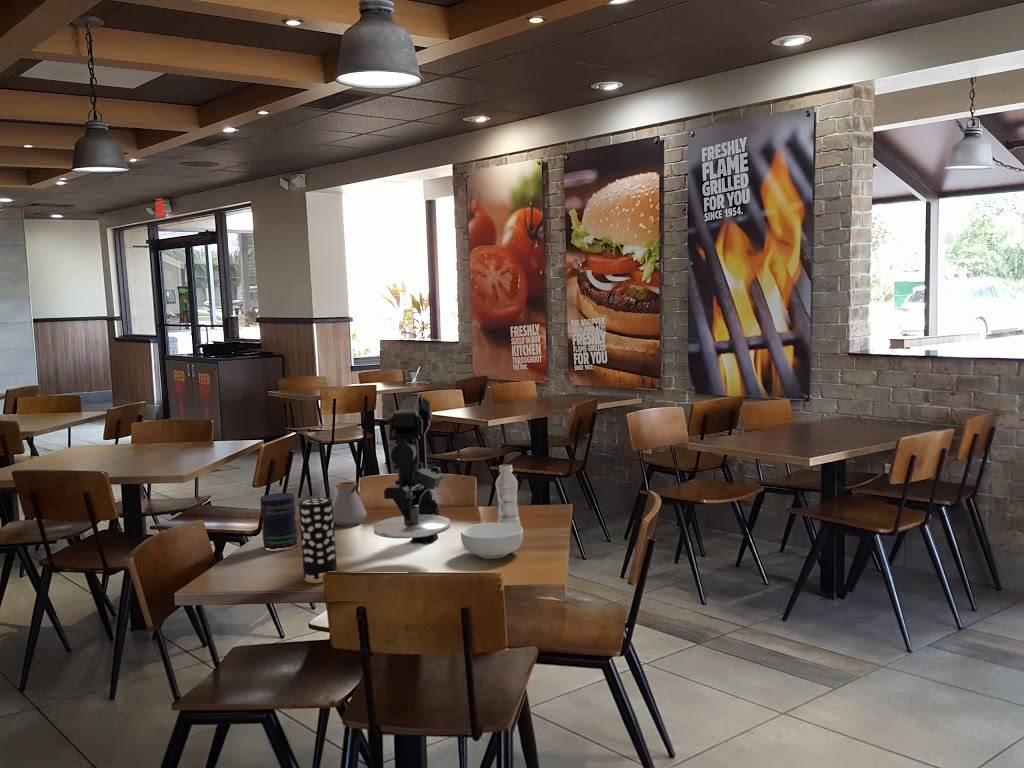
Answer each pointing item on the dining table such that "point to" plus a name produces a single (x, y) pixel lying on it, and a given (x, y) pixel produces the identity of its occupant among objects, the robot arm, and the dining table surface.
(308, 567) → the white-spotted black cylinder
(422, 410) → the robot arm
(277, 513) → the storage jar
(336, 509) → the coffee pot
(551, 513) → the dining table surface
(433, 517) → the steel lid
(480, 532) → the cereal bowl
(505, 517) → the plastic bottle
